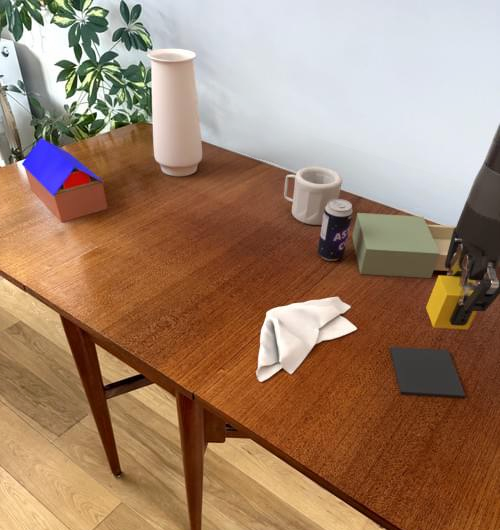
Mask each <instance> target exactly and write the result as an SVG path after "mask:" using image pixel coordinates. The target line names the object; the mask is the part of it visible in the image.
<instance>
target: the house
mask: <svg viewBox="0 0 500 530" xmlns="http://www.w3.org/2000/svg"><path fill="white" fill-rule="evenodd" d="M21 165H22V166H23V167H24V170H25V173H26V177H27V180H28V183H29V187H30V190H31V192H32V193H34V195H35V196H36V197H37V198H38V199H39V200H40V201H41V202H42V203H43V204H44V205H45V206H46V207H47V209H49V210H50V212H51V213H52V214H53V215H54V216H55V217H56V218H57V219H58V221H60V222H61V223H64V222H67V221H71V220H74V219H78V218H82V217H84V216H89V215H92V214H95V213H98V212H101V211H105V210H108V204H107V199H106V198H107V197H106V191H105V188H104V181H103V179H101V178H100V177H99V176H98V175H96V174H95V173H94V172H93V171H92V170H90V169H89V168H88V167H87V166H86V165H84V164H83V163H82V162H81V161H80V160H78V158H76V157H75V156H73V155H72V154H71V153H70V152H68V151H66V150H64V149H63V148H61V147H59V146H57V145H55V144H53V143H51V142H50V141H47V140H46V139H44V138H42V137H40V138H39V140H37V142H36V144H34V146H33V148H31V151H30V152H29V153H28V154H27V156H26V157H25V159H24V160H23V161H22V163H21Z"/></svg>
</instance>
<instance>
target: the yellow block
mask: <svg viewBox="0 0 500 530" xmlns="http://www.w3.org/2000/svg"><path fill="white" fill-rule="evenodd" d="M460 278H461V277H458V276H447V275H438V276H437V278H436V281H435V283H434V286H433V288H432V290H431V294H430V296H429V299H428V301H427V304H426V306H425V309H426V312H427V315H428V317H429V320H430V323H431V325H432V328H436V329H451V330H452V329H454V330H469V328H470V326H471V324H472V322H473V320H474V318H475V316H476V314H477V312H478V311H473V312H472V314H471V316H470V318H469V320H468V322H467V324H466V325H464V326H459V325H452V324H451V323H450V318H451V316H452V313H453V311H454V309H455V307H456V305H457V302H458V300H459V296H460V292H461V287H460V286H459V282H460ZM468 282H475V283H477V280H469V279H468ZM473 291H474V290H470V291H469V292H468V295H467V297H469V296H470V295H471V294H472V292H473Z"/></svg>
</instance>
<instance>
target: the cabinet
mask: <svg viewBox="0 0 500 530" xmlns="http://www.w3.org/2000/svg"><path fill="white" fill-rule="evenodd" d="M425 219H426V218H425V217H424V216H418V215H400V214H399V215H398V214H386V213H385V214H384V213H383V214H382V213H365V212H357V213H356V217H355V221H354V227H353V231H352V234H351V237H352V242H353V246H354V252H355V256H356V261H357V264H358V265H357V266H358V270H359V274H360V275H371V276H386V277H402V278H403V277H404V278H421V279H431V278H432V275H433V273H434V271H435V270H434V268H435V266H436V263H437V260H438V258H439V255H440V252H439V250H438V248H437V246H436V243H435V241H434V239H433V237H432V235H431V232H430V230H429V228H428V226H427V221H426V220H425Z"/></svg>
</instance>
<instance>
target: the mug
mask: <svg viewBox="0 0 500 530" xmlns="http://www.w3.org/2000/svg"><path fill="white" fill-rule="evenodd" d="M289 179H294V187H293V188H294V189H293V198H290V197H289V196H288V187H289ZM284 181H285V182H284V190H283V198H284V199H285V200H286V201H288V202H291V203H292V206H291V214H292V216H293V218H294V219H296V220H297V221H298V222H301V223H302V224H306V225H311V226H322V221H323V215H324V209H325V207H326V206H327V203H328V201H330V200H332V199H339V197H340V193H341V188H342V184H343V178H342V176H341V174H340V173H339V172H337V171H335V170H333V169H330V168H328V167H323V166H322V167H321V166H308V167H303V168H301V169H299V170H297V172H296V173H295V174H287V175H285V179H284Z"/></svg>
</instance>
